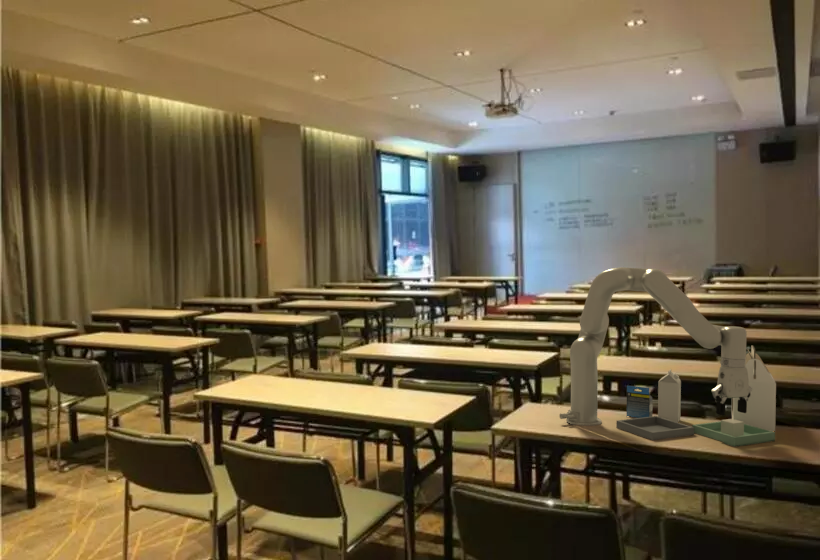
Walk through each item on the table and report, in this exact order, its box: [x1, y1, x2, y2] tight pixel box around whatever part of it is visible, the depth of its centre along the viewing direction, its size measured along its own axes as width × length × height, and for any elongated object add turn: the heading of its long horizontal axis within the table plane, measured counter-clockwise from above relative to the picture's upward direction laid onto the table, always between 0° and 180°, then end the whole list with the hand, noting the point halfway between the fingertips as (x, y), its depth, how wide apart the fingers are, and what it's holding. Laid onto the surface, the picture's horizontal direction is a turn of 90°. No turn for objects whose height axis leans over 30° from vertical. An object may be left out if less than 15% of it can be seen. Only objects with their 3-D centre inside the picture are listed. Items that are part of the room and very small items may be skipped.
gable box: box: [731, 345, 777, 432], centre depth 247 cm, size 22×13×28 cm, turn 156°
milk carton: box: [657, 368, 682, 423], centre depth 251 cm, size 7×7×19 cm
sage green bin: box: [691, 420, 776, 448], centre depth 229 cm, size 18×18×3 cm
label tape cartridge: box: [626, 384, 653, 418], centre depth 256 cm, size 9×4×12 cm, turn 51°
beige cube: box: [720, 418, 744, 437], centre depth 229 cm, size 5×5×5 cm
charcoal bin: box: [615, 415, 695, 441], centre depth 235 cm, size 18×18×3 cm
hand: (731, 413), depth 229 cm, fingers open, 9 cm apart
